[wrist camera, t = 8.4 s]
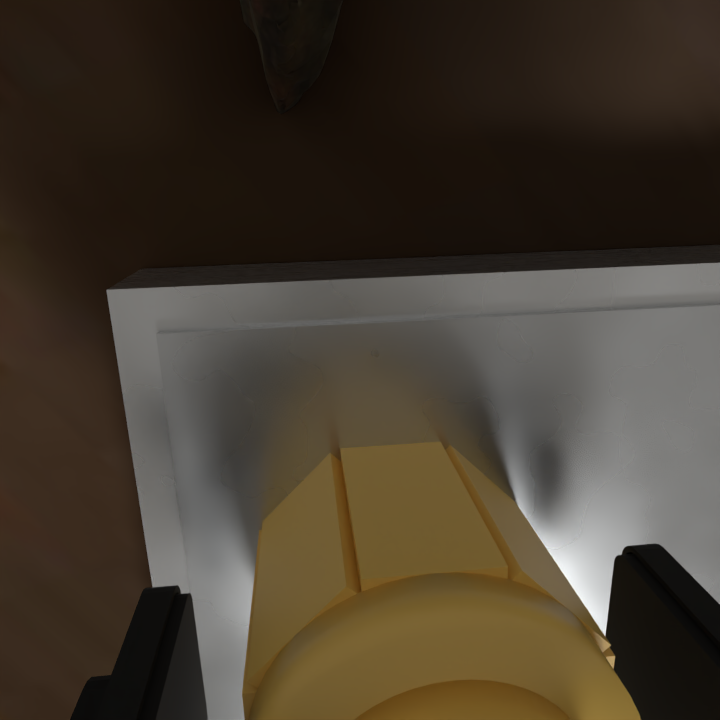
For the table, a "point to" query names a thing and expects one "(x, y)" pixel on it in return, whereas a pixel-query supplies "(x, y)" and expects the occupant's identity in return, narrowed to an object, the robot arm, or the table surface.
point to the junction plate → (423, 405)
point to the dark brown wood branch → (291, 43)
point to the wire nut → (417, 602)
